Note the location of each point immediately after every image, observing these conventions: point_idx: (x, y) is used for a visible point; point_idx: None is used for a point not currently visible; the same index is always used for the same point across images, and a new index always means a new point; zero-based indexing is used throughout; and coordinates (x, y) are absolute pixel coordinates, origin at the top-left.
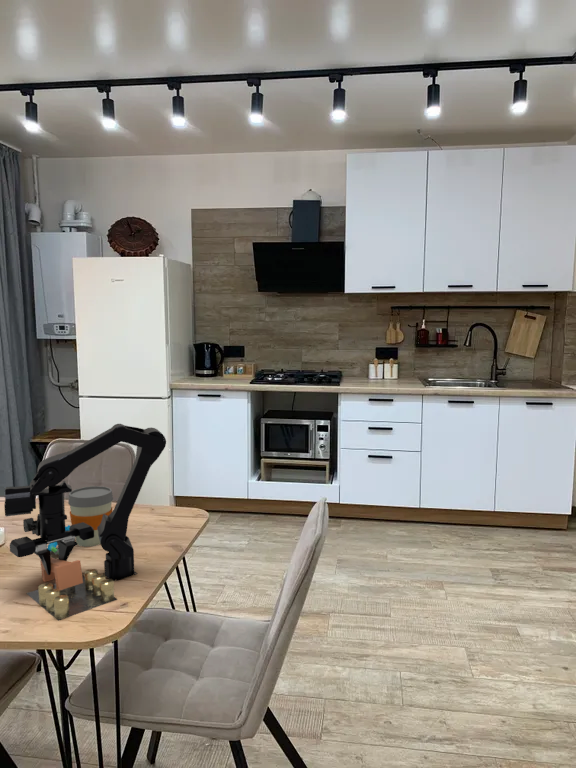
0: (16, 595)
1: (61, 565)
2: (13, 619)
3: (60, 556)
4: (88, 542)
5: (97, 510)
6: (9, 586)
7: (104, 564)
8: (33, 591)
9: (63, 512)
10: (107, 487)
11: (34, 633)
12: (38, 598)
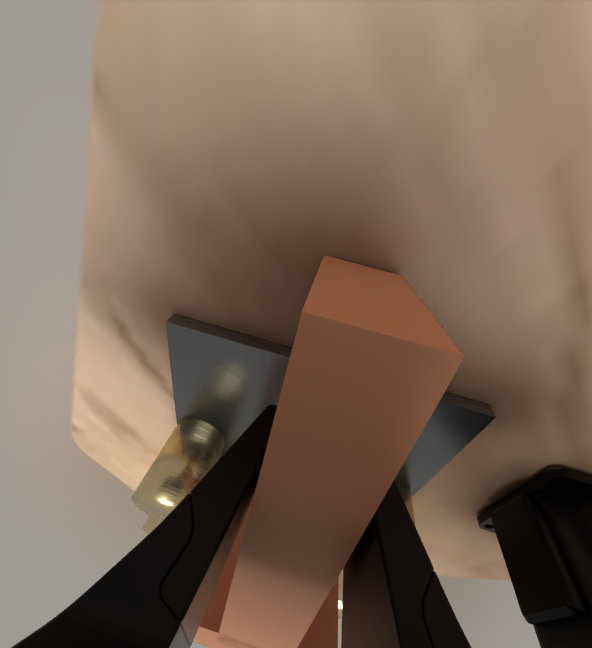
0: (133, 266)
1: (214, 641)
2: (93, 404)
3: (366, 591)
4: None
5: None
6: (117, 65)
7: (551, 577)
8: (201, 335)
9: None
10: None
11: (130, 473)
12: (192, 398)
